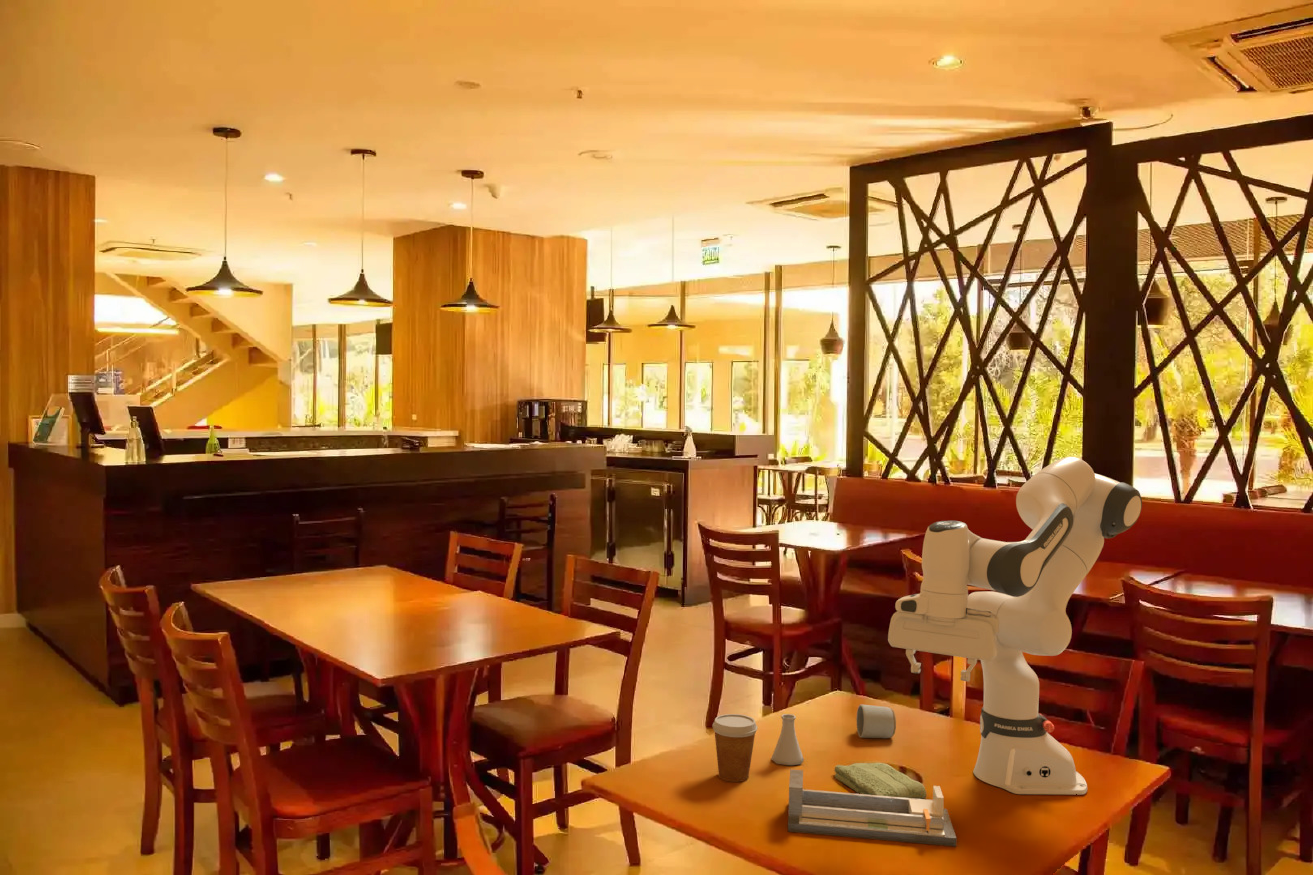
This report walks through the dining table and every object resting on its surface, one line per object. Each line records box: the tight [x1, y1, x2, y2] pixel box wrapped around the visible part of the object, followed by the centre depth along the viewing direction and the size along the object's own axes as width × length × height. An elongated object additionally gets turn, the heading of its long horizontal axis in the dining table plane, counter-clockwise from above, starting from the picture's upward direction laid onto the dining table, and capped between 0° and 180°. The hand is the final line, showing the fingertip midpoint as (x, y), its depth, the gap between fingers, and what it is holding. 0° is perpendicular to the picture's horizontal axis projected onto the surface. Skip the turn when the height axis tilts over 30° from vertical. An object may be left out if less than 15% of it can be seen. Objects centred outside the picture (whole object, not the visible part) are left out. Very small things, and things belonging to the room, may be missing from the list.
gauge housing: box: [787, 769, 957, 848], centre depth 181 cm, size 30×13×8 cm, turn 81°
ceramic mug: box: [855, 703, 897, 739], centre depth 231 cm, size 11×8×8 cm
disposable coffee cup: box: [711, 713, 758, 783], centre depth 203 cm, size 10×10×12 cm
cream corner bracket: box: [908, 785, 945, 831], centre depth 177 cm, size 6×10×5 cm, turn 171°
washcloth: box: [834, 762, 928, 799], centre depth 199 cm, size 13×18×3 cm
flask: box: [770, 713, 804, 766], centre depth 213 cm, size 7×7×10 cm
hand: (940, 676), depth 186 cm, fingers open, 8 cm apart
